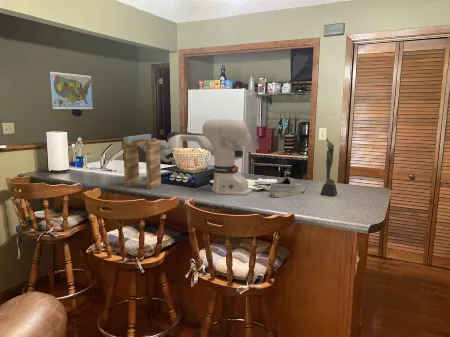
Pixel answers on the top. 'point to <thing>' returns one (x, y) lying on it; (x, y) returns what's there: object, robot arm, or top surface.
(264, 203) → the top surface
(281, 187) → the boat shoe
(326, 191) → the statue
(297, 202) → the top surface
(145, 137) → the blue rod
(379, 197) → the top surface
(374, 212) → the top surface
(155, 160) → the oak bridge
